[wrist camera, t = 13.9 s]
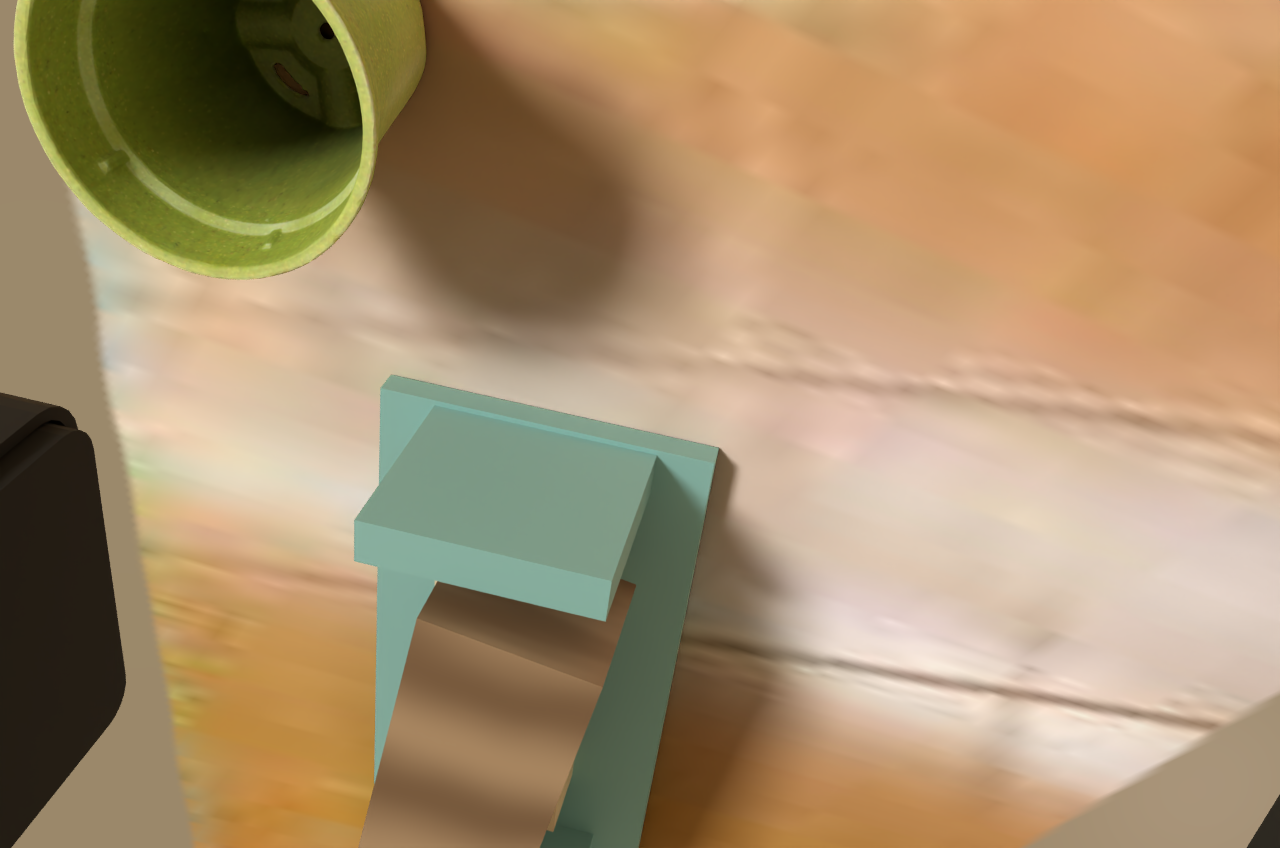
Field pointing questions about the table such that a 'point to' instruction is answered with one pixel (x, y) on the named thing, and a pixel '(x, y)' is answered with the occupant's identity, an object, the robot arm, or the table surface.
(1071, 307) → the table surface
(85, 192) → the plant pot
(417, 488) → the peg stand
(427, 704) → the brown wooden block
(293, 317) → the table surface
